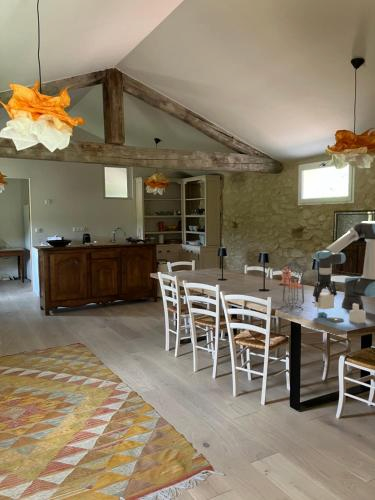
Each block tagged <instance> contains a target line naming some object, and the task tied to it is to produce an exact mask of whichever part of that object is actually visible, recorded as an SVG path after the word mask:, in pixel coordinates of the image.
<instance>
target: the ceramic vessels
mask: <svg viewBox="0 0 375 500" xmlns="http://www.w3.org/2000/svg"><path fill="white" fill-rule="evenodd" d="M287 267H288V266H286V267H284V268H287ZM282 270H283V269H282ZM282 270H281V278H282V279H281V281H280V282H281V283H280V284H281V285H283V286H286V285H288V286H286V288H287V289H289V279H288V280H286V283H285V282H284V273H283V272H284V271H285V270H286V269H285V270H283V271H282ZM287 270H288V269H287ZM289 272H291V271H289ZM289 272H288V274H285V278H288V277H289V278H290V279H292V272H291V273H289ZM285 273H287V272H286V271H285ZM286 275H288V276H287V277H286ZM294 284H295V290H297V280H296V281H293V282H292V287H291V281H290V290H294ZM302 289H304V286H303V285H300V284H299V283H298V290H302Z"/></svg>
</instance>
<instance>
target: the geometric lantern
mask: <svg viewBox="0 0 375 500" xmlns="http://www.w3.org/2000/svg"><path fill="white" fill-rule="evenodd" d="M285 267H287V268H285ZM285 269H286V270H285ZM287 269H288V270H287ZM283 270H285V271H286V272H287V273H285V271H284V272H283V273H284V282H285V283H286V280H288V279H289V285H288V286H289V288H288V292H290V291H291V288H290V285H291V287H292V284H293V282H294V281H296V283H297V289H295V284H294V289H293V291H294V292H293V297H291V298H290V296H288V299H285V293H286V292H285V291H286V286H283V289H282V290H283V291H282V292H283V293H282V302H283V303H284V304H286V305H285V307H287V308H290V309H293V307H299V308H301V306H302V305H303V304H305V296H304V295H305V293H304V288H301V299H302V300H300V299H299V289H298V284H299V283H298V281H299V280H300V282H301V283H300V284H301V285H300V286H303V284H304V279H303V276H302V275H303V274H304V273H305V272H306V271H308V269H307V268H306V267H304V266H303V265H301V264H299V263H298V262H296V261H292V262H289V263H288V264H286V265H284V266H282V267H280V271H281V272H282V271H283ZM289 271H291V272H289ZM294 271H295V272H294ZM297 271H298V272H299V273H298V272H297ZM288 272H289V273H290V274H291V276H293V277H291V278H289V277H288V278H285V274H288ZM297 275H298V276H297ZM287 276H288V275H286V277H287ZM295 276H297V277H295ZM299 277H300V278H299ZM290 281H291V284H290ZM295 293H296V295H295ZM296 296H297V297H296ZM295 297H296V298H295ZM290 301H291V302H290ZM294 301H296V302H294ZM298 302H300V303H298Z"/></svg>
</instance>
